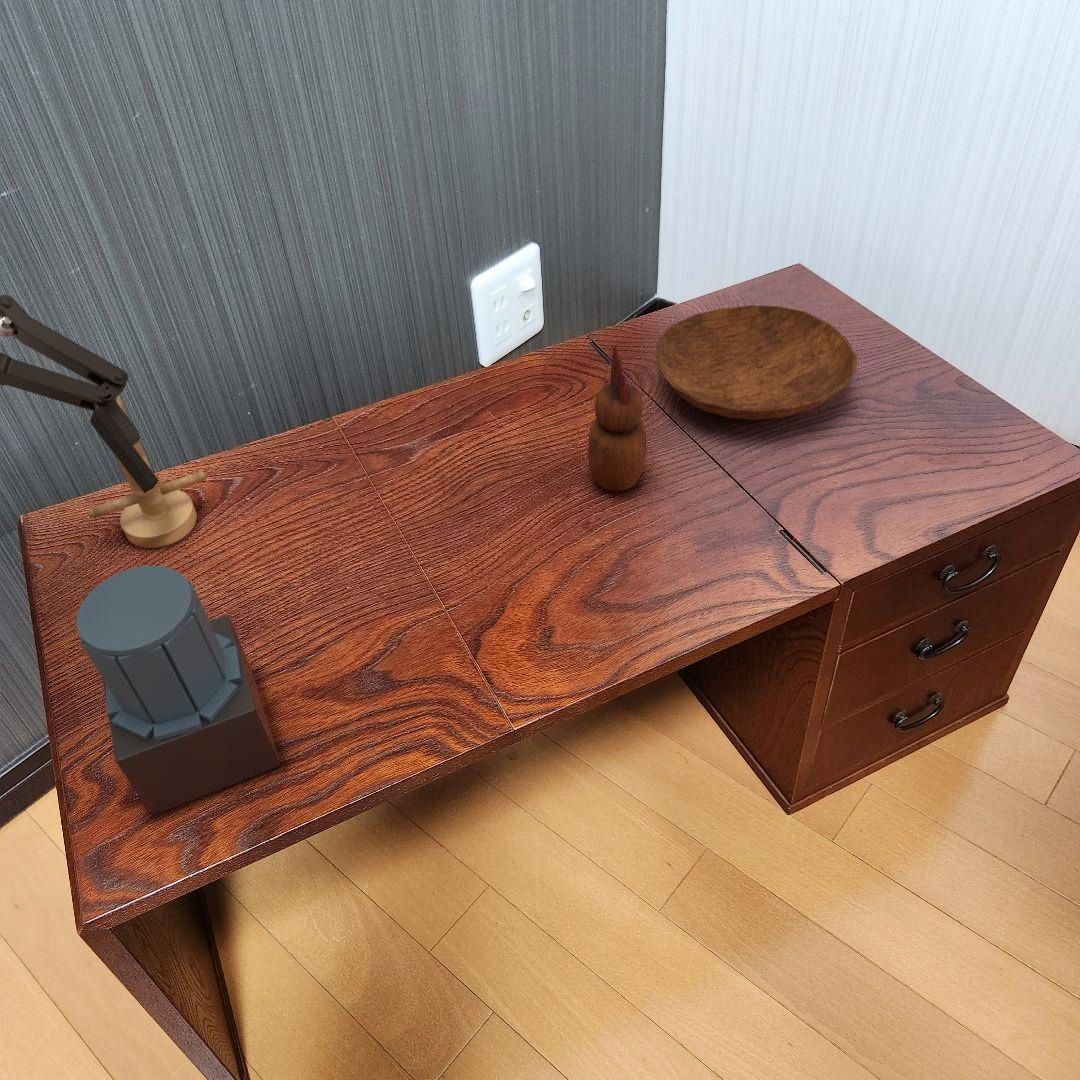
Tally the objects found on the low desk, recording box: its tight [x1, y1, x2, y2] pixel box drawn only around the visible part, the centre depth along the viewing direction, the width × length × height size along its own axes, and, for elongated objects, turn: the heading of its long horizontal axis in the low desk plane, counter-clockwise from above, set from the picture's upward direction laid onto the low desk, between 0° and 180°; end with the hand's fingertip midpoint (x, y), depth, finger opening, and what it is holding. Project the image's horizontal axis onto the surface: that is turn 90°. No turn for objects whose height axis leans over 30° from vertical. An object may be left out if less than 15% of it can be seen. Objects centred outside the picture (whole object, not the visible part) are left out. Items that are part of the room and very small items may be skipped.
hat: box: [75, 565, 242, 741], centre depth 67 cm, size 10×10×9 cm
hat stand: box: [87, 395, 208, 549], centre depth 88 cm, size 11×7×16 cm, turn 118°
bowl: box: [654, 304, 858, 421], centre depth 104 cm, size 20×22×5 cm
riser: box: [101, 614, 282, 817], centre depth 73 cm, size 10×10×8 cm
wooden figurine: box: [587, 345, 647, 492], centre depth 91 cm, size 7×6×15 cm
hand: (69, 538), depth 66 cm, fingers open, 13 cm apart
